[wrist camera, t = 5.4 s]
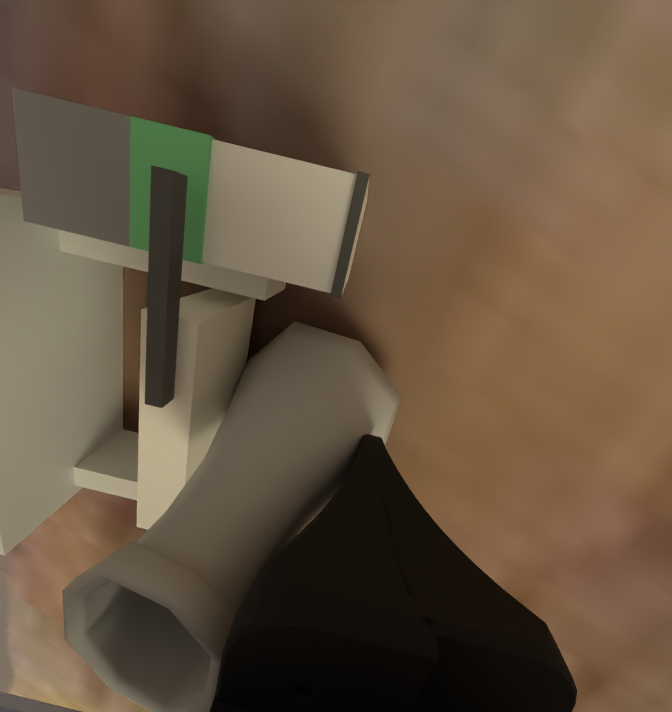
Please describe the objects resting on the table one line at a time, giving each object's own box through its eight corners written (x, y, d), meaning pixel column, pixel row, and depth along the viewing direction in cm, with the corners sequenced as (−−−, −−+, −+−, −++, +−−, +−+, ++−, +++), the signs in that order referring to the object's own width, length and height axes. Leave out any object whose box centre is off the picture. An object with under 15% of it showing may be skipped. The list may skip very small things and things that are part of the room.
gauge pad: (234, 451, 16) (170, 552, 11) (202, 444, 16) (124, 541, 11) (269, 205, 12) (198, 176, 7) (228, 195, 12) (126, 158, 7)
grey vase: (220, 413, 16) (-57, 623, 7) (290, 289, 13) (0, 349, 4) (339, 500, 16) (225, 847, 6) (434, 390, 13) (476, 704, 4)
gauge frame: (297, 495, 17) (264, 619, 11) (86, 443, 17) (-51, 542, 11) (367, 199, 12) (370, 160, 7) (72, 127, 12) (-179, 26, 7)
